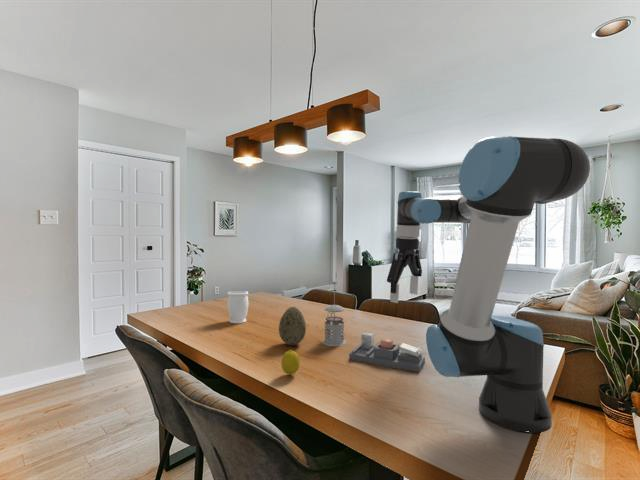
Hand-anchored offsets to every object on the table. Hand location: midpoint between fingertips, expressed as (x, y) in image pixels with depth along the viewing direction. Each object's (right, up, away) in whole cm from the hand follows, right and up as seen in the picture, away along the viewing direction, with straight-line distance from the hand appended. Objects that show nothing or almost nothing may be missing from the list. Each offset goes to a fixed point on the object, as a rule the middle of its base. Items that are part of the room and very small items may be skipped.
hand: (404, 297), depth 115 cm
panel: (-6, -22, 0) cm, 23 cm away
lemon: (-39, -22, -13) cm, 46 cm away
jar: (-71, -21, +51) cm, 90 cm away
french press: (-24, -22, +20) cm, 38 cm away
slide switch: (-12, -19, +6) cm, 24 cm away
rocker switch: (+1, -17, -4) cm, 18 cm away
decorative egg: (-40, -22, +16) cm, 49 cm away
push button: (-6, -18, 0) cm, 19 cm away
